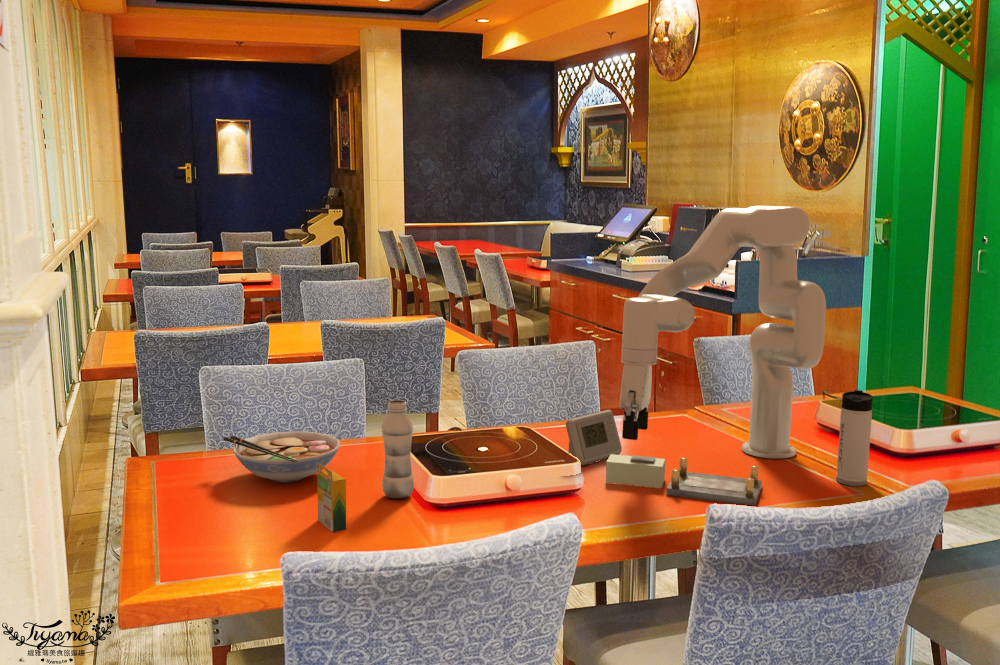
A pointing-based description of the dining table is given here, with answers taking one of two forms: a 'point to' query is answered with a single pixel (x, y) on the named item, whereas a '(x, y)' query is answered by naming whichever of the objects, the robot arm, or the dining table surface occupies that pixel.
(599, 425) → the digital clock
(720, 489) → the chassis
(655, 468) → the cream rectangular block
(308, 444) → the ramen bowl
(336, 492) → the crayon box
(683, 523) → the dining table surface
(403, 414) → the plastic bottle
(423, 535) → the dining table surface
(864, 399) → the travel mug
